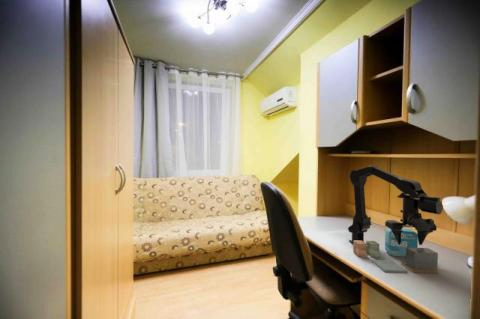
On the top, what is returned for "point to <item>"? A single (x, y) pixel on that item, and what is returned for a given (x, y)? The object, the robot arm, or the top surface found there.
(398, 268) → the pad
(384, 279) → the top surface
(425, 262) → the mounted unit
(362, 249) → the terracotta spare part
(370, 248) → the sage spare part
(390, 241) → the data package
